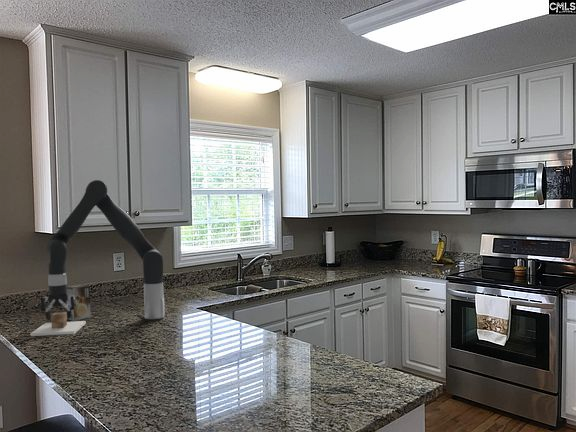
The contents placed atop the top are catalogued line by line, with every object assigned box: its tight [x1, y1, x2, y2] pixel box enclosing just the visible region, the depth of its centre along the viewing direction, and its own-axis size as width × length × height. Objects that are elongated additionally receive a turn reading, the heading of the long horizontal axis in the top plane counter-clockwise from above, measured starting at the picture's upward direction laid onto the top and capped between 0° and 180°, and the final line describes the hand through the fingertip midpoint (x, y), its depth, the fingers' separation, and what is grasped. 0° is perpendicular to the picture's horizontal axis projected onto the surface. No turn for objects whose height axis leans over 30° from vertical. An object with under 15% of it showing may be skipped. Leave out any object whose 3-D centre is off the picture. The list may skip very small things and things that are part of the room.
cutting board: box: [30, 320, 87, 337], centre depth 217 cm, size 18×18×1 cm
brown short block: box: [50, 311, 68, 329], centre depth 217 cm, size 5×5×6 cm
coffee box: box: [66, 284, 92, 322], centre depth 237 cm, size 9×6×16 cm
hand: (59, 319), depth 217 cm, fingers open, 8 cm apart
